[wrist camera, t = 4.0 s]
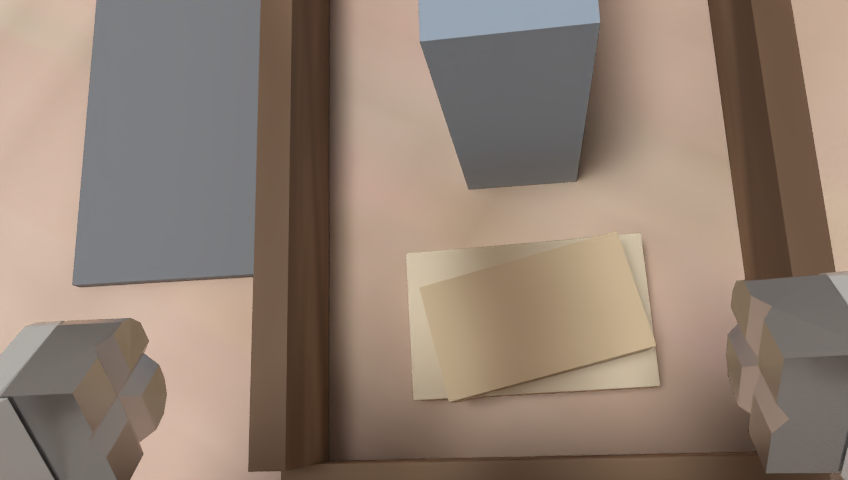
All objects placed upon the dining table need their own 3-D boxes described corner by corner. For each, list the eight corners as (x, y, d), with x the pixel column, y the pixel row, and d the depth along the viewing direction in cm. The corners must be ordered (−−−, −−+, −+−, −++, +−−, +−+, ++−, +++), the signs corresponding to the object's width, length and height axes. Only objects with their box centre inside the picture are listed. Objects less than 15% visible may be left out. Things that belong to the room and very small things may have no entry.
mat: (277, -41, 27) (274, -47, 27) (270, 275, 24) (266, 273, 24) (104, -19, 28) (98, -25, 28) (79, 286, 25) (72, 285, 25)
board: (560, -12, 25) (572, -273, 16) (576, 181, 24) (600, 22, 14) (459, 0, 26) (410, -246, 16) (468, 189, 24) (419, 41, 14)
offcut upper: (611, 244, 21) (616, 230, 20) (646, 350, 21) (656, 345, 19) (429, 297, 22) (419, 287, 20) (457, 402, 21) (449, 401, 19)
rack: (718, -146, 25) (750, -246, 21) (811, 487, 20) (873, 505, 17) (304, -90, 28) (265, -172, 24) (297, 495, 23) (247, 512, 19)
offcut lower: (632, 247, 23) (640, 233, 21) (649, 387, 22) (660, 385, 20) (417, 266, 24) (406, 253, 22) (424, 401, 23) (413, 400, 21)
